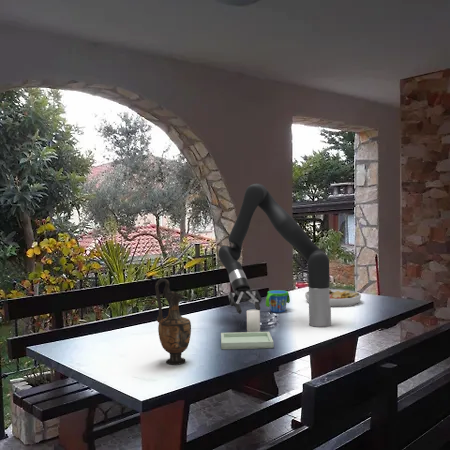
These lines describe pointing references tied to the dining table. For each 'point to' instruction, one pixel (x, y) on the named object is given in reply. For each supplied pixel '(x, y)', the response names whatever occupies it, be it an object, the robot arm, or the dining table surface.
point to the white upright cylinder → (253, 320)
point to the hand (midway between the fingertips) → (249, 311)
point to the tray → (246, 340)
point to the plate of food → (341, 297)
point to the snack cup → (277, 300)
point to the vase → (172, 326)
